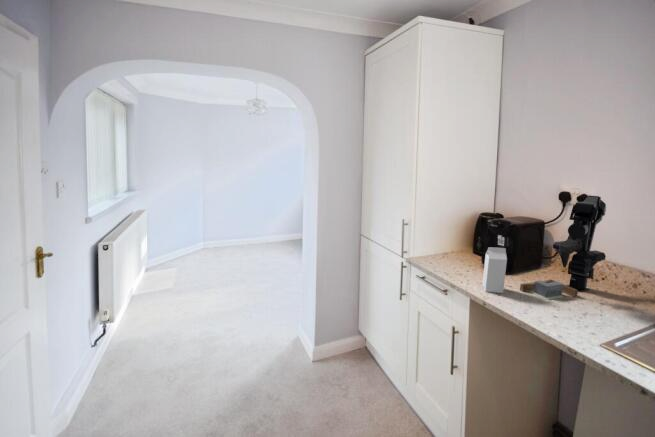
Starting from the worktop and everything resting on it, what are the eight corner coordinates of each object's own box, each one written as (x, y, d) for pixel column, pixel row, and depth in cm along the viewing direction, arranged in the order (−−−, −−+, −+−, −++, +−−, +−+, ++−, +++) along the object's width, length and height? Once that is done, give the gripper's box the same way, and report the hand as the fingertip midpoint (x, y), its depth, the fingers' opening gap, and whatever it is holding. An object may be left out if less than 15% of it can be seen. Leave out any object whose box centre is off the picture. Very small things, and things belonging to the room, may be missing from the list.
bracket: (545, 297, 156) (546, 286, 155) (533, 292, 161) (534, 281, 160) (561, 295, 158) (563, 284, 157) (549, 289, 164) (550, 279, 163)
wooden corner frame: (550, 285, 169) (551, 279, 168) (577, 296, 157) (578, 290, 157) (519, 290, 163) (520, 283, 163) (544, 302, 152) (545, 295, 151)
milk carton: (503, 293, 160) (508, 250, 156) (485, 291, 161) (489, 249, 157) (499, 287, 166) (503, 246, 163) (482, 285, 168) (486, 245, 164)
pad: (545, 289, 165) (546, 288, 165) (564, 297, 157) (564, 296, 157) (530, 291, 162) (530, 291, 162) (548, 299, 154) (548, 299, 154)
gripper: (545, 229, 156) (540, 265, 160) (588, 241, 139) (582, 280, 142) (565, 228, 160) (559, 263, 163) (609, 239, 143) (602, 277, 146)
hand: (574, 270), depth 154 cm, fingers open, 9 cm apart
